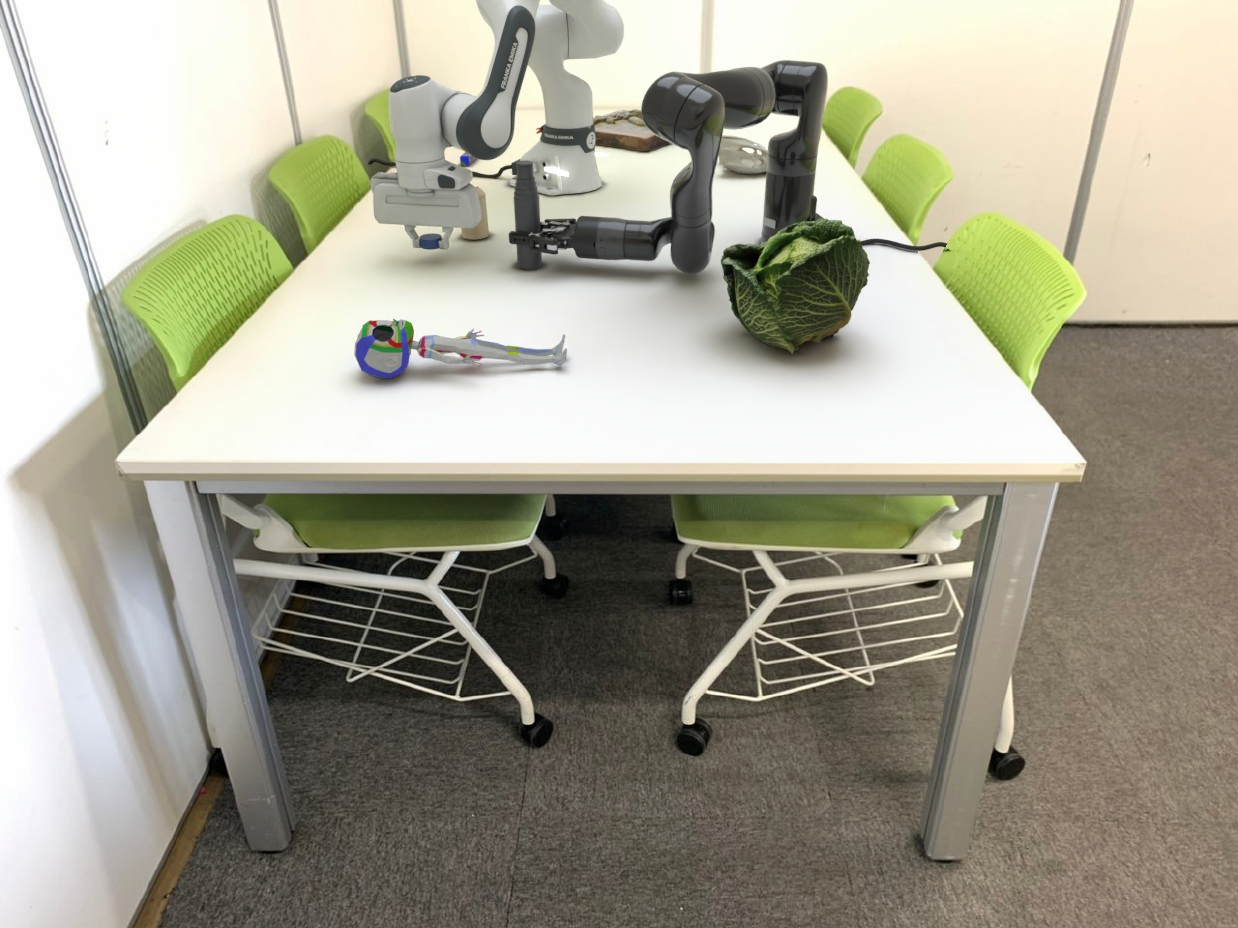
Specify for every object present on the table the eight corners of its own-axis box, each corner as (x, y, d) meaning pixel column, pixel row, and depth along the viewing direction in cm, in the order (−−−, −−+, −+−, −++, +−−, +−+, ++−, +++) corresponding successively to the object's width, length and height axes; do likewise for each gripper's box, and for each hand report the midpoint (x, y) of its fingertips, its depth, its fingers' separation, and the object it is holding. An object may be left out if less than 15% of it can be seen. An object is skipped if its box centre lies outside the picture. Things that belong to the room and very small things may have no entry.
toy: (569, 347, 126) (349, 329, 122) (563, 400, 131) (350, 385, 126) (565, 318, 135) (359, 301, 130) (559, 369, 139) (360, 354, 134)
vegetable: (752, 365, 147) (694, 260, 139) (847, 299, 148) (795, 192, 140) (808, 391, 128) (745, 272, 121) (916, 316, 130) (860, 193, 122)
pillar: (486, 139, 247) (467, 157, 231) (487, 147, 249) (468, 166, 232) (479, 139, 248) (459, 157, 231) (479, 147, 249) (460, 166, 232)
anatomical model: (705, 127, 227) (805, 126, 223) (705, 164, 232) (803, 164, 228) (701, 141, 214) (807, 140, 211) (701, 180, 219) (804, 180, 216)
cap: (433, 251, 168) (432, 241, 167) (415, 247, 169) (414, 238, 168) (447, 245, 171) (446, 235, 170) (430, 241, 173) (428, 232, 172)
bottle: (512, 265, 168) (506, 162, 158) (530, 259, 171) (525, 158, 161) (529, 271, 166) (524, 167, 156) (547, 265, 169) (543, 162, 159)
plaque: (647, 125, 237) (559, 112, 252) (647, 153, 241) (560, 139, 256) (706, 107, 258) (622, 97, 273) (705, 133, 262) (622, 121, 277)
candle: (493, 232, 185) (489, 183, 180) (481, 241, 181) (476, 191, 175) (469, 230, 187) (464, 181, 181) (457, 238, 182) (451, 189, 177)
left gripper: (361, 176, 162) (373, 250, 169) (468, 180, 158) (476, 256, 166) (376, 167, 167) (387, 240, 175) (480, 171, 164) (487, 245, 171)
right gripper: (612, 206, 166) (524, 201, 170) (593, 230, 155) (499, 224, 158) (612, 245, 170) (527, 240, 174) (594, 272, 159) (502, 265, 162)
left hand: (431, 248), depth 170 cm, fingers closed on cap, 4 cm apart
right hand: (514, 233), depth 166 cm, fingers closed on bottle, 4 cm apart
